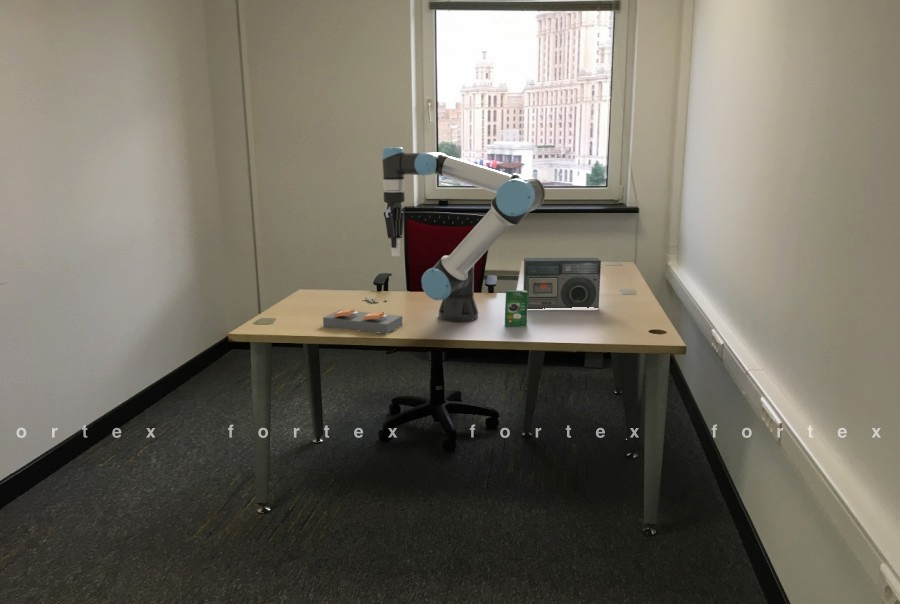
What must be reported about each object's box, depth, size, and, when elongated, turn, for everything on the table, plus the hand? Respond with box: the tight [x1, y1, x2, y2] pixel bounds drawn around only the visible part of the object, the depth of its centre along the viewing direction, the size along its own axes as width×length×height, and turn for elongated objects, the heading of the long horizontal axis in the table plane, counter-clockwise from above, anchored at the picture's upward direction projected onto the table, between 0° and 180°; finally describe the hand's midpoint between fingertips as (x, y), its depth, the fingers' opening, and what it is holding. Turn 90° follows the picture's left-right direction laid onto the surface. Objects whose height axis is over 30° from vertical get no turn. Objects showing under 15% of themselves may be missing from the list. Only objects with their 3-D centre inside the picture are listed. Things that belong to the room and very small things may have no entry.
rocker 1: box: [334, 308, 356, 317], centre depth 243 cm, size 6×4×1 cm
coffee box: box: [504, 289, 528, 327], centre depth 242 cm, size 8×3×13 cm, turn 89°
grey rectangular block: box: [322, 309, 403, 334], centre depth 244 cm, size 26×12×4 cm, turn 68°
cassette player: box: [522, 257, 602, 309], centre depth 265 cm, size 29×7×20 cm, turn 88°
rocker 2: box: [363, 312, 385, 320], centre depth 239 cm, size 6×4×1 cm
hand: (395, 255), depth 246 cm, fingers closed
